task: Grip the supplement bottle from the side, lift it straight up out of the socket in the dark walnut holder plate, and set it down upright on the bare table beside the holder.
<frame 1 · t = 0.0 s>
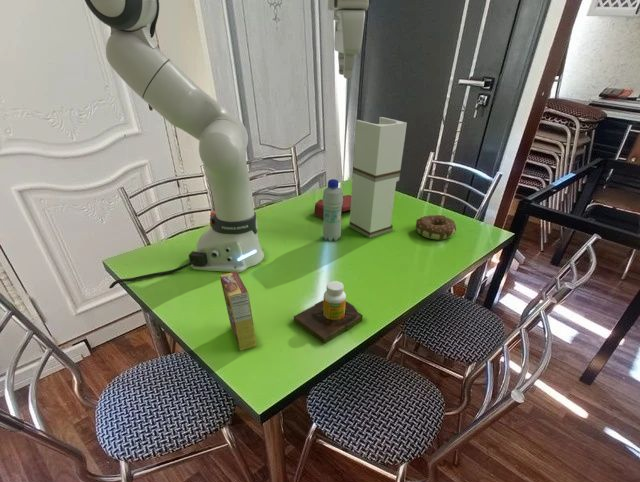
hand: (344, 76, 88), 48 cm above the table, tool pointing down, fingers open, 8 cm apart
carton: (342, 209, 148), on the table
bottle: (331, 238, 127), on the table
supplement bottle: (333, 318, 91), resting in holder
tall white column: (370, 229, 133), on the table
donut: (433, 233, 131), on the table
holder: (328, 321, 90), on the table
candy box: (243, 338, 85), on the table
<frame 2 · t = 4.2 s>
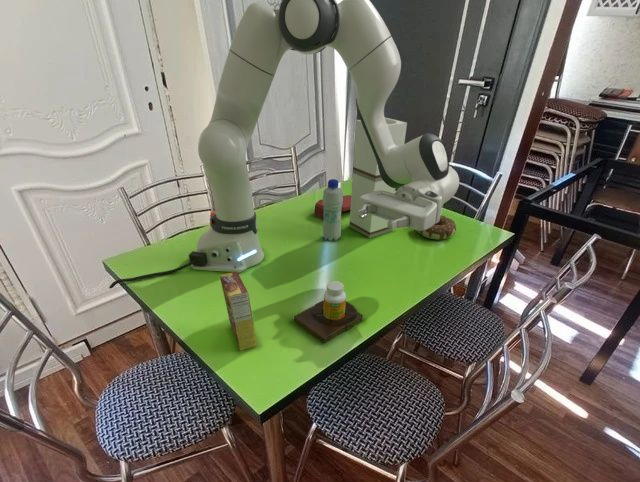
hand: (374, 220, 85), 22 cm above the table, tool horizontal, fingers open, 8 cm apart
nothing on the table moved.
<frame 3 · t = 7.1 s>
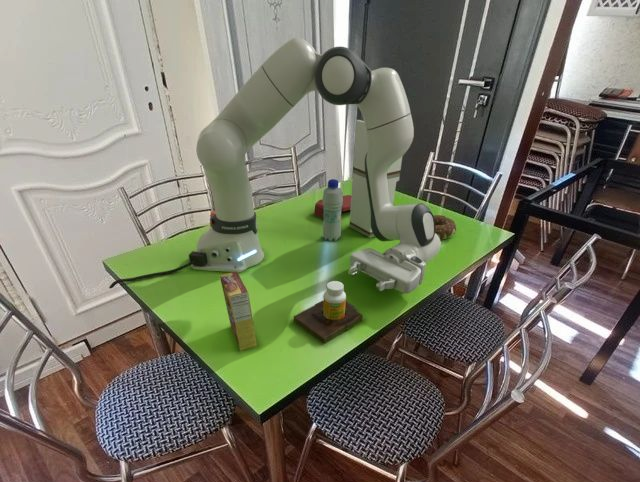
hand: (363, 279, 93), 7 cm above the table, tool horizontal, fingers open, 8 cm apart
nothing on the table moved.
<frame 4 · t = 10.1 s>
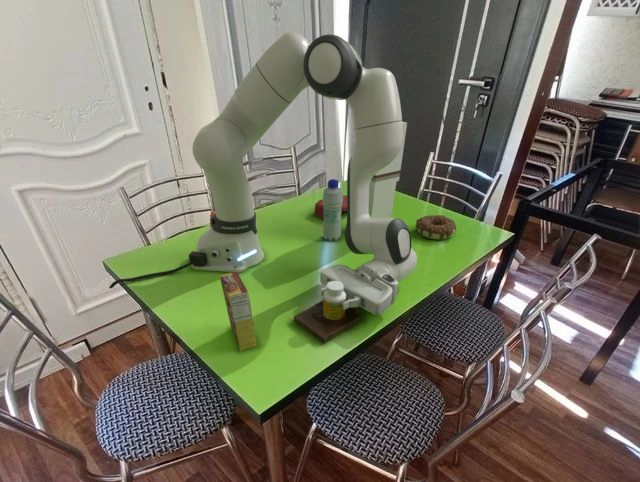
hand: (332, 299, 87), 6 cm above the table, tool horizontal, fingers closed on supplement bottle, 5 cm apart
supplement bottle: (333, 318, 91), resting in holder, touching gripper
everything else where it was.
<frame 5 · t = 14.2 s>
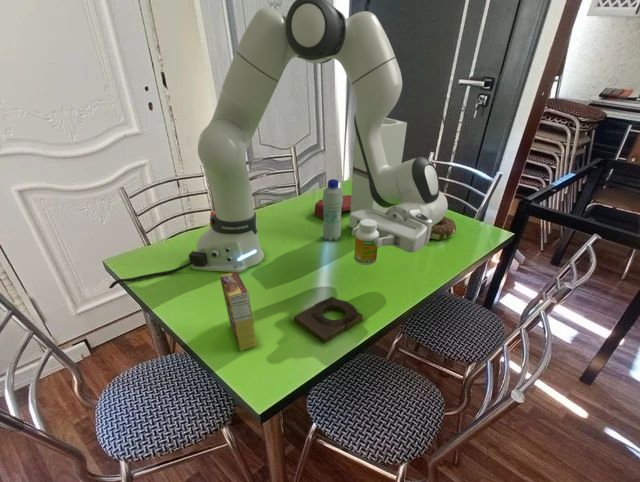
hand: (364, 238, 84), 19 cm above the table, tool horizontal, fingers closed on supplement bottle, 5 cm apart
supplement bottle: (365, 260, 89), point 13 cm above the table, touching gripper
everything else where it was.
when the fingers open (6 cm above the table, at t = 18.4 s): supplement bottle stays where it is, on the table.
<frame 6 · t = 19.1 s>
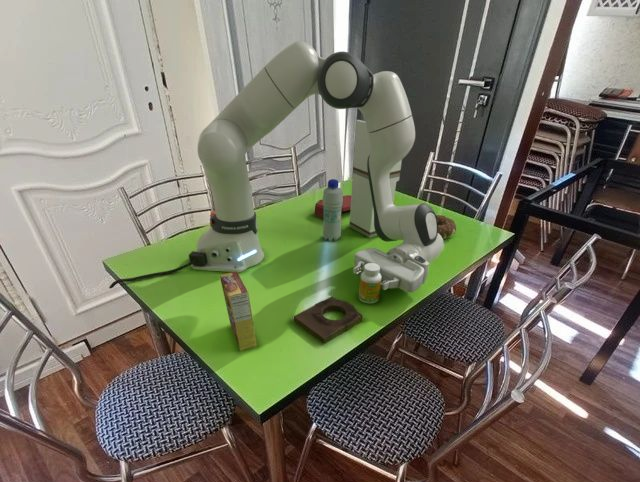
hand: (368, 279, 94), 6 cm above the table, tool horizontal, fingers open, 8 cm apart
supplement bottle: (368, 298, 98), on the table
everything else where it was.
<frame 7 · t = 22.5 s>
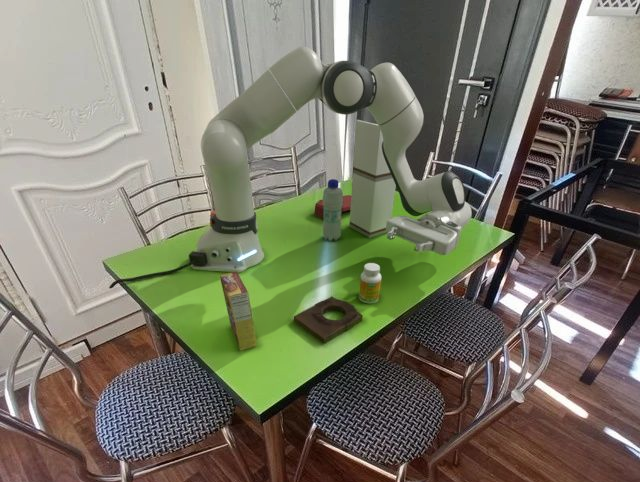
hand: (402, 242, 97), 12 cm above the table, tool horizontal, fingers open, 8 cm apart
nothing on the table moved.
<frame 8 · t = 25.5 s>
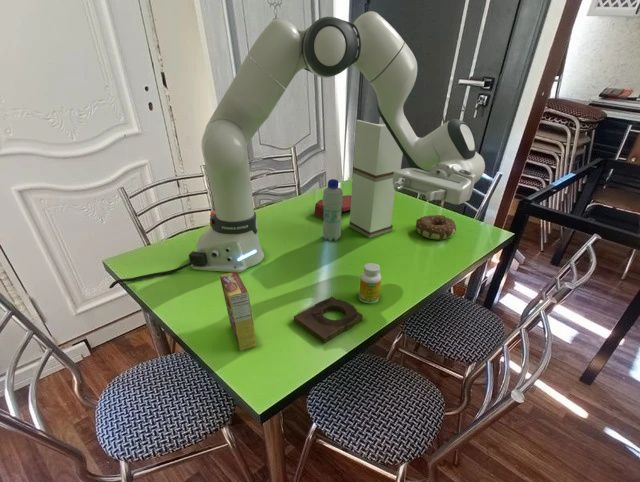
hand: (411, 191, 89), 26 cm above the table, tool horizontal, fingers open, 8 cm apart
nothing on the table moved.
at the end: supplement bottle inside the target area (0.0 cm from its centre), on the table; supplement bottle tilted 0°; the gripper is holding nothing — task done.
